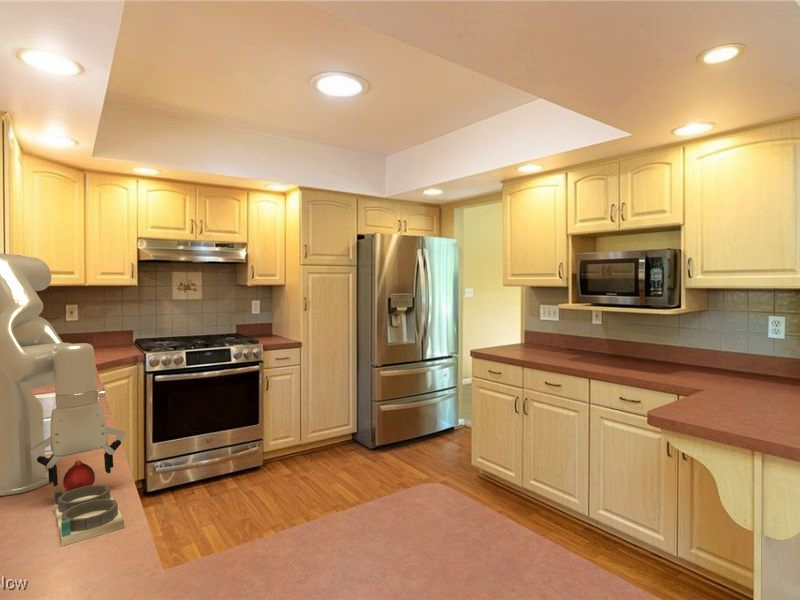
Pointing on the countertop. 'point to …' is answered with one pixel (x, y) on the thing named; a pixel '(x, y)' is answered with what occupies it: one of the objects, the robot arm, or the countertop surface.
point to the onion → (78, 476)
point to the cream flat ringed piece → (86, 513)
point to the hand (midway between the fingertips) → (82, 477)
